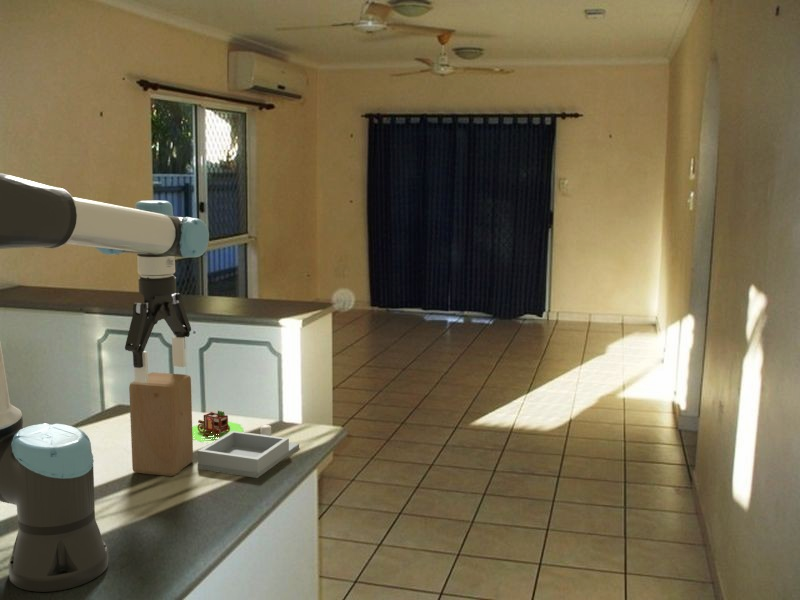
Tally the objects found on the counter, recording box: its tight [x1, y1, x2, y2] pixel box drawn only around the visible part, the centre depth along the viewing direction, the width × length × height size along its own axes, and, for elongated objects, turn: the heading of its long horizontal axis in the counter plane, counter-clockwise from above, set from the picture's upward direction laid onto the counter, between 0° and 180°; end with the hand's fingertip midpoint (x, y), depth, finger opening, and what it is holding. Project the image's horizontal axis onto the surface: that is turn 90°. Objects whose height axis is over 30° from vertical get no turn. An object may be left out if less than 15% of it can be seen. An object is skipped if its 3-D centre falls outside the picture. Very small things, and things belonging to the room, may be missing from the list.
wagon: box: [192, 410, 244, 443], centre depth 210 cm, size 15×15×6 cm
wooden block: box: [128, 371, 194, 477], centre depth 185 cm, size 10×10×20 cm
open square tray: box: [197, 424, 300, 479], centre depth 193 cm, size 20×14×5 cm
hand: (161, 374), depth 183 cm, fingers open, 13 cm apart
